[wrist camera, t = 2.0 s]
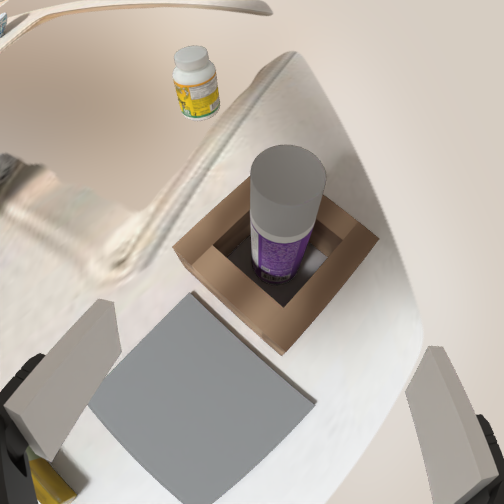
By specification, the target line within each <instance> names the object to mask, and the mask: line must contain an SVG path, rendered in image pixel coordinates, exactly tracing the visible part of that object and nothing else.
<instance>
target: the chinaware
mask: <svg viewBox="0 0 504 504" xmlns="http://www.w3.org/2000/svg"><path fill="white" fill-rule="evenodd" d="M6 25H7V14H6V13H3V14H1V15H0V38H1V37H2V36H3V34H4V33H3V31H4V30H5V27H6Z"/></svg>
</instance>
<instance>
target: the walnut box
mask: <svg viewBox="0 0 504 504" xmlns="http://www.w3.org/2000/svg"><path fill="white" fill-rule="evenodd" d="M250 234H251V225H250V176H249V177H248V178H247V179H246V180H245V181H244V182H243V183H241V184H240V185H239V186H238V187H237V188H236V189H235V190H234V191H232V192H231V193H230V194H229V195H228V196H227V197H226V198H225V199H223V200H222V201H221V202H220V203H219V204H218V205H217V206H216V207H215V208H214V209H212V210H211V211H210V212H209V213H208V214H207V215H206V216H205V217H204V218H203V219H202V220H200V221H199V222H198V223H197V224H196V225H195V226H194V227H193V228H192V229H191V230H190V231H189V232H188V233H187V234H185V235H184V236H183V237H182V238H181V239H180V240H179V241H178V242H177V243H176V244H175V245H174V246H173V249H174V251H175V252H176V254H177V256H178V257H179V259H180V260H181V262H182V264H183V265H184V267H185V268H186V269H187V270H188V271H189V272H190V273H191V274H193V275H194V276H195V277H196V278H197V279H198V280H199V281H200V282H201V283H202V284H203V285H204V286H205V287H206V288H207V289H208V290H209V291H210V292H211V293H213V294H214V295H215V296H216V297H217V298H218V299H219V300H220V301H221V302H222V303H223V304H224V305H225V306H226V307H228V308H229V309H230V310H231V311H232V312H233V313H234V314H235V315H236V316H237V317H238V318H239V319H241V320H242V321H243V322H244V323H245V324H246V325H247V326H248V327H249V328H250V329H252V330H253V331H254V332H255V333H256V334H257V335H258V336H259V337H261V338H262V339H263V340H264V341H265V342H266V343H267V344H268V345H270V346H271V347H272V348H273V349H274V350H275V351H276V352H277V353H279V354H280V355H281V356H282V355H283V354H284V353H285V352H287V350H288V349H289V348H290V347H291V346H292V345H293V344H294V343H295V342H296V340H297V339H298V338H299V337H300V336H301V335H302V334H303V332H304V331H305V330H306V329H307V328H308V327H309V326H310V324H311V323H312V322H313V321H314V320H315V319H316V317H317V316H318V315H319V314H320V313H321V312H322V310H323V309H324V308H325V307H326V306H327V304H328V303H329V302H330V301H331V300H332V298H333V297H334V296H335V295H336V294H337V292H338V291H339V290H340V289H341V287H342V286H343V285H344V284H345V282H346V281H347V280H348V279H349V278H350V276H351V275H352V274H353V272H354V271H355V270H356V269H357V267H358V266H359V265H360V264H361V262H362V261H363V260H364V258H365V257H366V256H367V255H368V253H369V252H370V251H371V249H372V248H373V247H374V245H375V244H376V243H377V241H378V240H379V238H378V237H377V236H376V235H374V234H373V233H372V232H371V231H370V230H368V229H367V228H366V227H365V226H363V225H362V224H361V223H360V222H358V221H357V220H356V219H354V218H353V217H352V216H351V215H349V214H348V213H347V212H346V211H344V210H343V209H342V208H340V207H339V206H338V205H336V204H335V203H334V202H333V201H331V200H330V199H329V198H327V197H326V196H325V195H322V198H321V202H320V206H319V209H318V213H317V216H316V220H315V224H314V227H313V230H312V233H311V235H310V238H309V241H308V242H310V243H311V244H312V245H313V246H315V247H316V248H317V249H318V250H319V251H321V252H322V253H323V254H324V255H326V256H327V257H328V258H327V259H326V260H325V262H324V263H323V264H322V265H321V266H320V267H319V269H318V270H317V271H316V272H315V273H314V274H313V275H312V277H311V278H310V279H309V280H308V281H307V282H306V283H305V284H304V286H303V287H302V288H301V289H300V290H299V291H298V292H297V293H296V295H295V296H294V297H293V298H292V299H291V300H290V301H289V302H288V303H287V305H286V306H285V307H284V308H283V307H282V306H281V305H280V304H279V303H277V302H276V301H275V300H274V299H273V298H272V297H271V296H269V295H268V294H267V293H266V292H265V291H264V290H263V289H261V288H260V287H259V286H258V285H257V284H256V283H255V282H253V281H252V280H251V279H250V278H249V277H248V276H247V275H245V274H244V273H243V272H242V271H241V270H240V269H239V268H238V267H236V266H235V265H234V264H233V263H232V262H231V261H230V260H228V259H227V257H228V256H229V255H230V254H231V253H232V252H233V251H234V250H235V249H236V248H237V247H238V246H239V245H240V244H241V243H242V242H243V241H244V240H245V239H246V238H247V237H248V236H249V235H250Z"/></svg>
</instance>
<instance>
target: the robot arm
mask: <svg viewBox="0 0 504 504" xmlns="http://www.w3.org/2000/svg"><path fill="white" fill-rule="evenodd" d="M121 352H122V350H121V345H120V339H119V333H118V327H117V321H116V314H115V307H114V302H111V301H107V300H103V299H98V300H97V301H96V302H95V303H94V304H93V305H92V306H91V307H90V308H89V309H88V310H87V311H86V312H85V313H84V314H83V315H82V317H81V318H80V319H79V320H78V321H77V322H76V323H75V324H74V325H73V326H72V327H71V328H70V329H69V330H68V331H67V333H66V334H65V335H64V336H63V337H62V338H61V339H60V340H59V341H58V342H57V343H56V345H55V346H54V347H53V348H52V349H51V350H50V351H49V352H48V354H47V355H44V354H41V353H39V354H37V355H36V356H34V357H32V358H30V359H29V360H28V361H27V362H26V363H25V364H24V365H23V366H22V368H21V370H19V371H18V372H17V373H16V374H15V377H13V378H12V379H11V380H10V381H9V382H8V384H7V385H6V386H5V387H4V388H3V389H2V391H1V392H0V504H38V501H37V497H36V493H35V488H34V484H33V480H32V475H31V470H30V464H29V459H28V455H27V452H26V449H27V447H28V446H30V447H31V449H32V450H33V451H34V453H35V454H37V455H38V456H40V457H42V458H44V459H46V460H48V461H49V462H52V461H53V459H54V457H55V456H56V454H57V452H58V451H59V449H60V447H61V446H62V444H63V442H64V441H65V439H66V438H67V436H68V434H69V433H70V431H71V429H72V428H73V426H74V425H75V423H76V421H77V420H78V418H79V417H80V415H81V413H82V412H83V410H84V409H85V407H86V406H87V404H88V402H89V401H90V399H91V398H92V396H93V395H94V393H95V392H96V390H97V389H98V387H99V386H100V384H101V382H102V381H103V379H104V378H105V376H106V375H107V373H108V372H109V370H110V369H111V367H112V366H113V364H114V363H115V361H116V360H117V358H118V357H119V355H120V354H121ZM405 393H406V397H407V400H408V404H409V407H410V410H411V414H412V417H413V421H414V424H415V428H416V432H417V435H418V439H419V443H420V447H421V451H422V455H423V459H424V463H425V467H426V471H427V476H428V481H429V485H430V490H431V494H432V500H433V504H504V458H503V456H502V452H501V450H500V448H499V445H498V444H497V440H496V438H495V436H494V435H493V434H494V433H493V431H492V428H491V426H490V424H489V422H488V421H487V420H486V419H485V418H484V417H483V415H481V414H480V415H476V414H475V412H474V410H473V408H472V405H471V403H470V401H469V399H468V396H467V394H466V392H465V390H464V388H463V386H462V384H461V382H460V380H459V377H458V375H457V373H456V371H455V369H454V367H453V365H452V363H451V362H450V359H449V357H448V356H447V354H446V352H445V350H444V348H443V347H439V346H438V347H437V346H428V348H427V350H426V352H425V354H424V356H423V358H422V361H421V363H420V364H419V366H418V368H417V370H416V372H415V374H414V376H413V378H412V380H411V382H410V384H409V385H408V387H407V389H406V391H405Z"/></svg>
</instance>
